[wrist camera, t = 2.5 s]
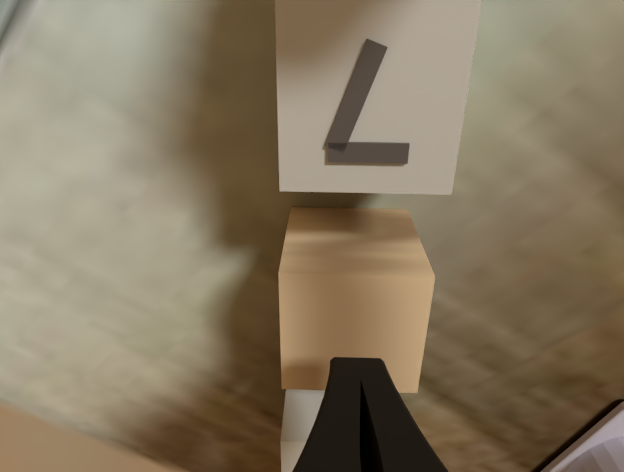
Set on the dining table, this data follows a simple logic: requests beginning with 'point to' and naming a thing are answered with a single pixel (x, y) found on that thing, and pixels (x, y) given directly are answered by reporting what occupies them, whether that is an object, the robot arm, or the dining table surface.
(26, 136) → the dining table surface
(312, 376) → the plain block
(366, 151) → the marked block 7
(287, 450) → the marked block 1
